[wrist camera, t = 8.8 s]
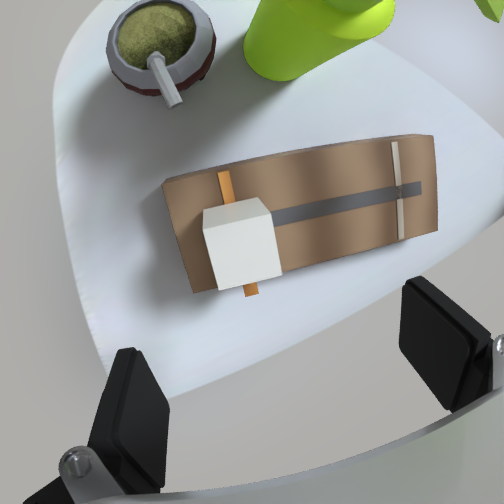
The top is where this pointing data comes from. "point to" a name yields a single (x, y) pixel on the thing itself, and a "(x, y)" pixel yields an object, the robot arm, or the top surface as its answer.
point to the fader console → (314, 200)
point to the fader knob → (241, 243)
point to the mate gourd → (161, 47)
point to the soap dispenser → (318, 32)
